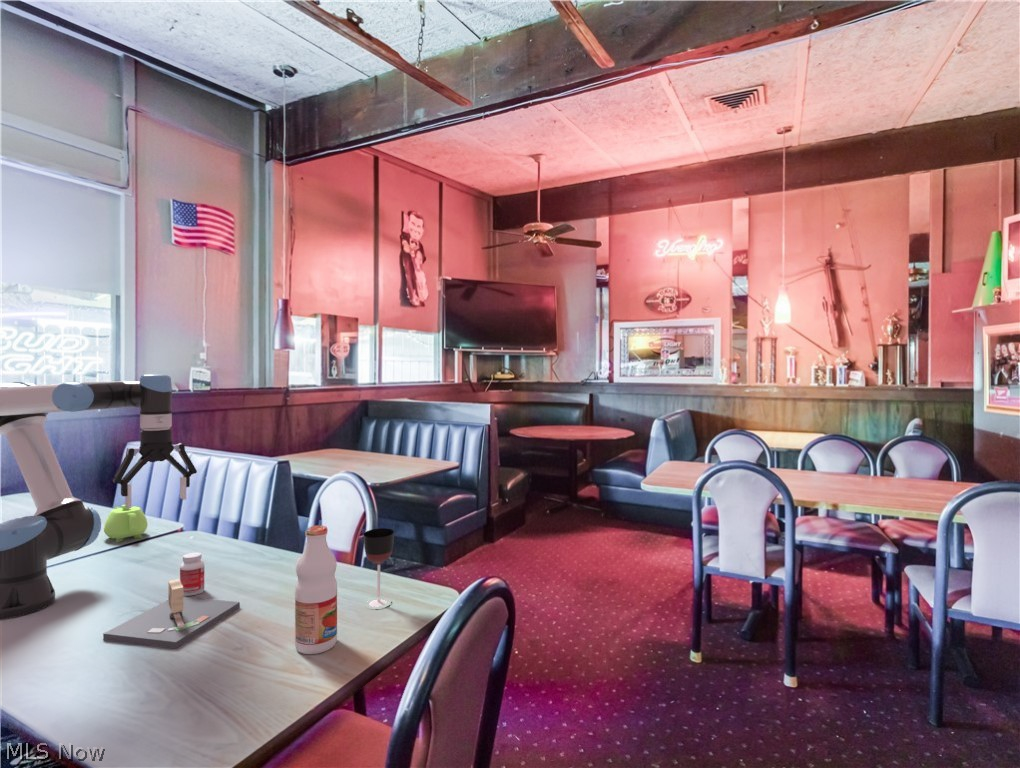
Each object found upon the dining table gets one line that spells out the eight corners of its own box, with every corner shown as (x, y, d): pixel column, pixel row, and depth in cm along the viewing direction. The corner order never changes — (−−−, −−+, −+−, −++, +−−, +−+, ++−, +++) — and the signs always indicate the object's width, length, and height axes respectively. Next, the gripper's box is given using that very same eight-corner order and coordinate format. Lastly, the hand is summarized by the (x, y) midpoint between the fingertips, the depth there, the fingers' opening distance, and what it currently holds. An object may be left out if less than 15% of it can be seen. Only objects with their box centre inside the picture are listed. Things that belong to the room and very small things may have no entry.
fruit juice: (298, 637, 131) (298, 523, 130) (338, 633, 133) (339, 521, 132) (291, 657, 122) (291, 535, 121) (335, 653, 124) (335, 532, 123)
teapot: (97, 536, 207) (96, 503, 207) (137, 528, 217) (137, 497, 217) (113, 547, 194) (112, 512, 194) (155, 538, 205) (155, 505, 204)
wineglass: (399, 600, 152) (400, 530, 152) (380, 612, 144) (380, 539, 144) (377, 595, 156) (377, 526, 155) (356, 607, 148) (357, 535, 147)
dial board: (103, 639, 129) (103, 632, 129) (176, 601, 150) (176, 595, 150) (175, 648, 125) (175, 641, 125) (239, 607, 147) (239, 601, 147)
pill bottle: (205, 593, 155) (205, 556, 155) (180, 598, 152) (180, 560, 152) (203, 586, 160) (203, 549, 160) (179, 591, 157) (179, 553, 157)
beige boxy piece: (167, 612, 139) (167, 581, 139) (180, 609, 141) (180, 578, 141) (174, 630, 130) (174, 597, 130) (188, 627, 132) (188, 594, 131)
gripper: (106, 433, 141) (107, 513, 141) (208, 426, 160) (208, 497, 160) (98, 431, 145) (99, 508, 146) (199, 424, 164) (199, 493, 165)
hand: (156, 503), depth 153 cm, fingers open, 13 cm apart
